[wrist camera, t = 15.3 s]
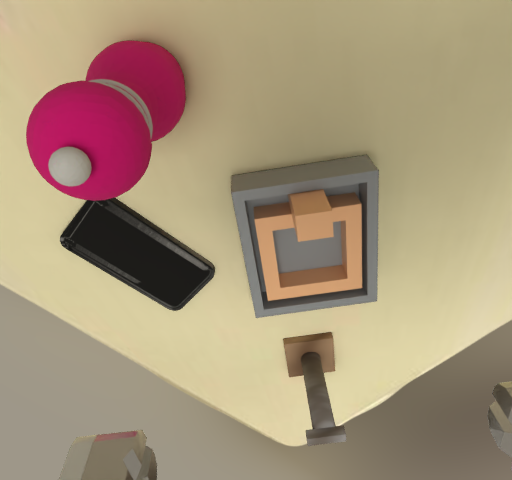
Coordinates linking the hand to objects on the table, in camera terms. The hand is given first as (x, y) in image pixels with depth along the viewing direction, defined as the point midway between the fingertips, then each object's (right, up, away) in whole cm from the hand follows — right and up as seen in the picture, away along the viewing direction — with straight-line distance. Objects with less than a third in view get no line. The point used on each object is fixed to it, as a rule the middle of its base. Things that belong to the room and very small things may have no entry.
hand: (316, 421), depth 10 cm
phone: (-14, +3, +35) cm, 37 cm away
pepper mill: (-11, +18, +25) cm, 33 cm away
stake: (+5, -10, +43) cm, 45 cm away
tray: (+4, +5, +34) cm, 34 cm away
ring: (+4, +5, +33) cm, 33 cm away
